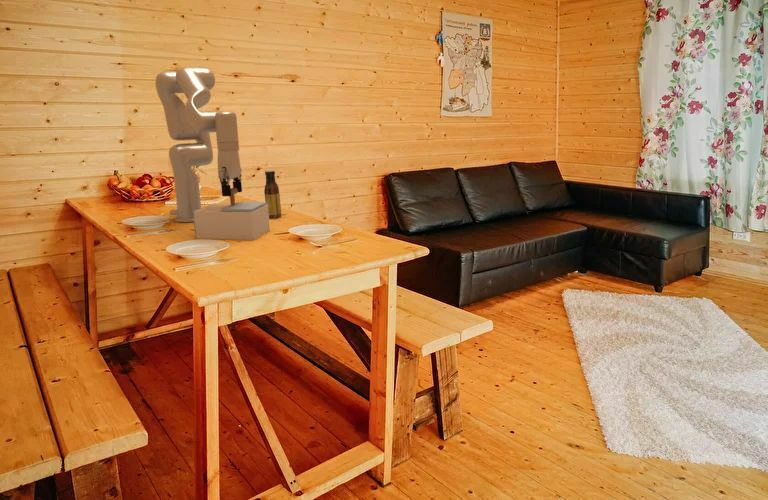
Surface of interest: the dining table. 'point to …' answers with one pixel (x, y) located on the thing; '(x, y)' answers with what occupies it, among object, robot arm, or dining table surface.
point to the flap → (242, 204)
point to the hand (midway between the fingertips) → (232, 194)
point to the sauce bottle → (272, 195)
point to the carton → (230, 223)
